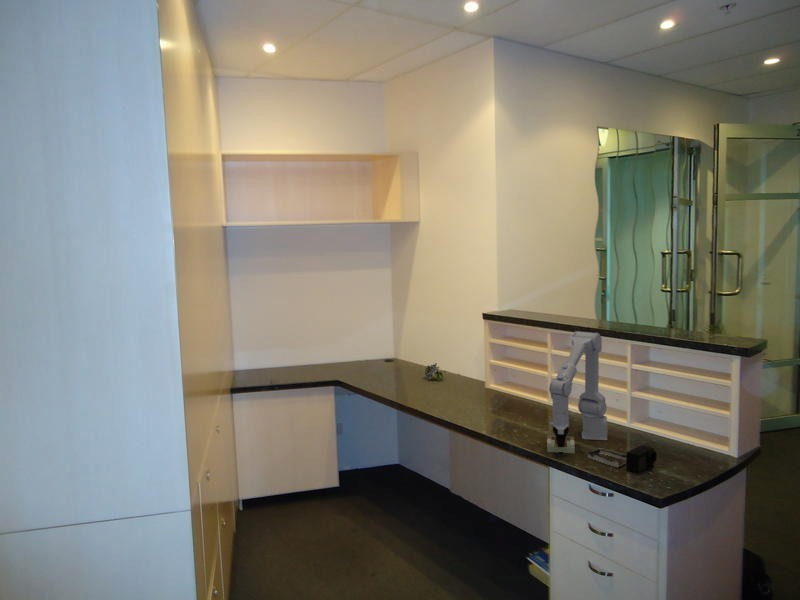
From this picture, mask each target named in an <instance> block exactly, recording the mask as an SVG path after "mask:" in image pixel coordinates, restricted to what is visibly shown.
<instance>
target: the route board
mask: <svg viewBox="0 0 800 600" xmlns="http://www.w3.org/2000/svg"><path fill="white" fill-rule="evenodd" d="M546 442H547V443H546V448H547V449H546V450H547V451H546V452H547V453H559V452H563V454H575V452H576V451H575V450H576V449H575V448H576V447H575V445H576V444H575V437H574V436H568V435H567V447H558V446H555V435H548V434H547V439H546Z"/></svg>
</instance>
